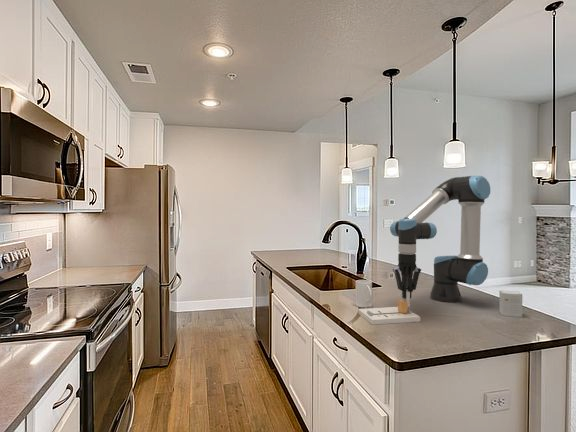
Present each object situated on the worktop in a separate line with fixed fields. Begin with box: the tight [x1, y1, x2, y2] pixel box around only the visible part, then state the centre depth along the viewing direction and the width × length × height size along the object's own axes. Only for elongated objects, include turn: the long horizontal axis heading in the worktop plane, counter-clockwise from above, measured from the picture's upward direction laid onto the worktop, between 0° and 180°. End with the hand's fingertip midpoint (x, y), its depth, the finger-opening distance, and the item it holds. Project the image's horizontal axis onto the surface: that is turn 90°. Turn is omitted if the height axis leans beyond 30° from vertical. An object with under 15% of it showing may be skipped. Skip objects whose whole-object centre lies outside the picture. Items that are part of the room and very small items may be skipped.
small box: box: [498, 289, 523, 318], centre depth 160 cm, size 8×6×10 cm
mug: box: [354, 279, 373, 308], centre depth 176 cm, size 12×8×12 cm
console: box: [357, 306, 421, 325], centre depth 157 cm, size 22×16×3 cm
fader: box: [397, 299, 408, 313], centre depth 158 cm, size 2×4×5 cm, turn 10°
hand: (406, 305), depth 158 cm, fingers closed
